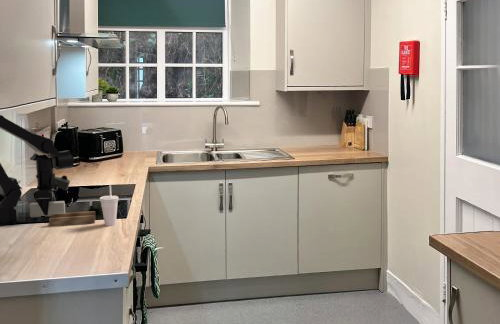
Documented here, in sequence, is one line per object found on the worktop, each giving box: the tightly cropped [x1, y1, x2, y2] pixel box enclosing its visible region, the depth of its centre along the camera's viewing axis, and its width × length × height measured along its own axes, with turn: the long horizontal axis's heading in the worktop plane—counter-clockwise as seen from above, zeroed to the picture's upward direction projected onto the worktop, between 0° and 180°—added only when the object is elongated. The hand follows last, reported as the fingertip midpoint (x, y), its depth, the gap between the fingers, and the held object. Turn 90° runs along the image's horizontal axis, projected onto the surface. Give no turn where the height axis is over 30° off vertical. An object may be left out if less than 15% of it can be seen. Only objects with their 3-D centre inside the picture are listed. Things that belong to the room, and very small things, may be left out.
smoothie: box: [99, 184, 120, 227], centre depth 186 cm, size 6×6×14 cm
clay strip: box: [29, 200, 66, 218], centre depth 201 cm, size 12×3×5 cm, turn 104°
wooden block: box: [48, 210, 96, 227], centre depth 191 cm, size 15×7×3 cm, turn 103°
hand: (47, 212), depth 201 cm, fingers open, 9 cm apart
